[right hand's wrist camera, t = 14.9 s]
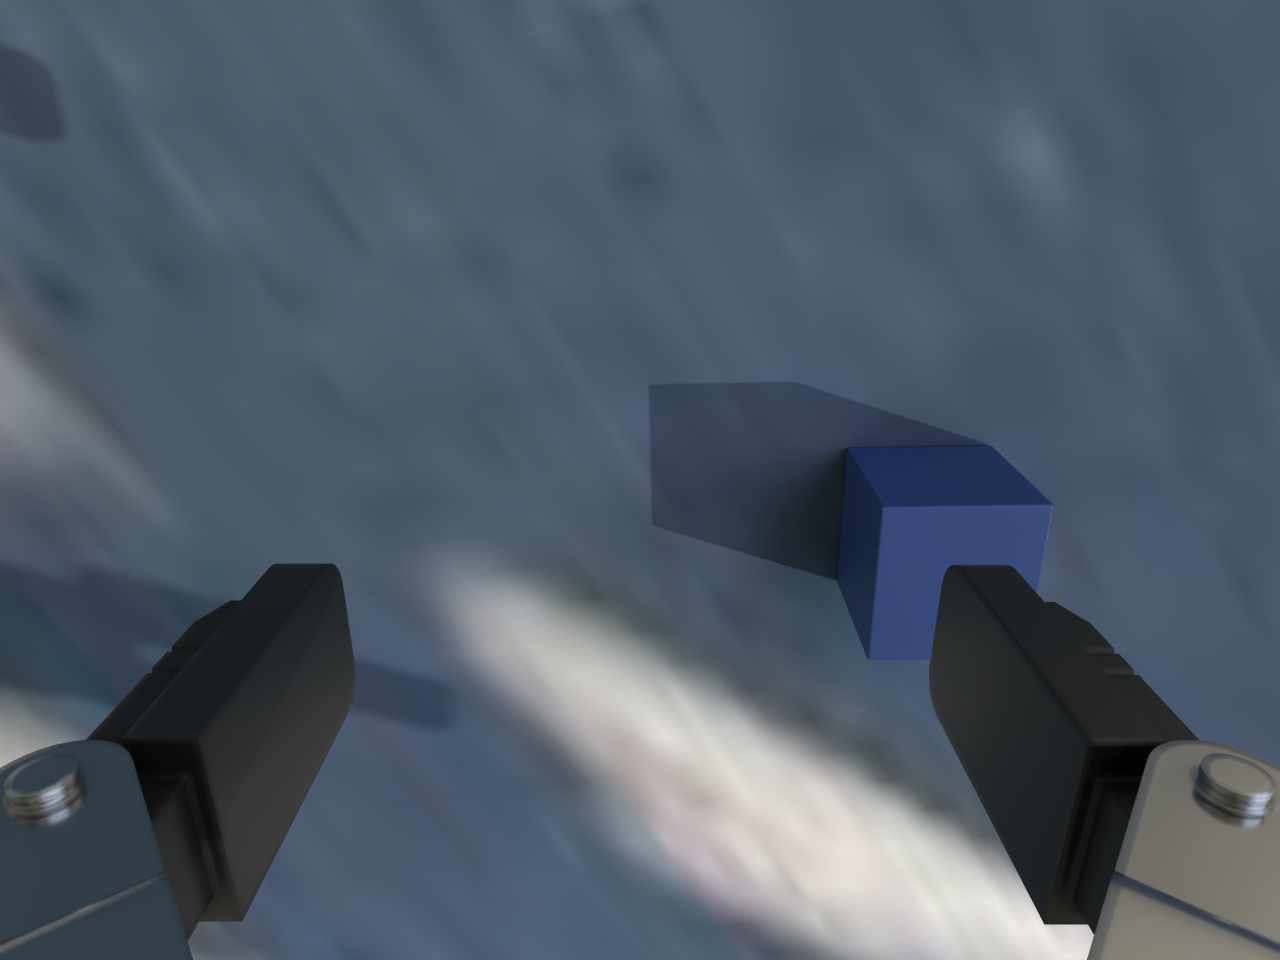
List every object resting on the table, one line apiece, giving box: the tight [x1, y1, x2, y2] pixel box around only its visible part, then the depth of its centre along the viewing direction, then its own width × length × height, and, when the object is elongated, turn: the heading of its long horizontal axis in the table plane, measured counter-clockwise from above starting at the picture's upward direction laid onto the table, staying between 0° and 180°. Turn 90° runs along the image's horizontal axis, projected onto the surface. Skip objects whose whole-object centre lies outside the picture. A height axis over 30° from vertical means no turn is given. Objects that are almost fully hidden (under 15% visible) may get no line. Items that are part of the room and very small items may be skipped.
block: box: [837, 446, 1054, 660], centre depth 25 cm, size 5×5×5 cm
